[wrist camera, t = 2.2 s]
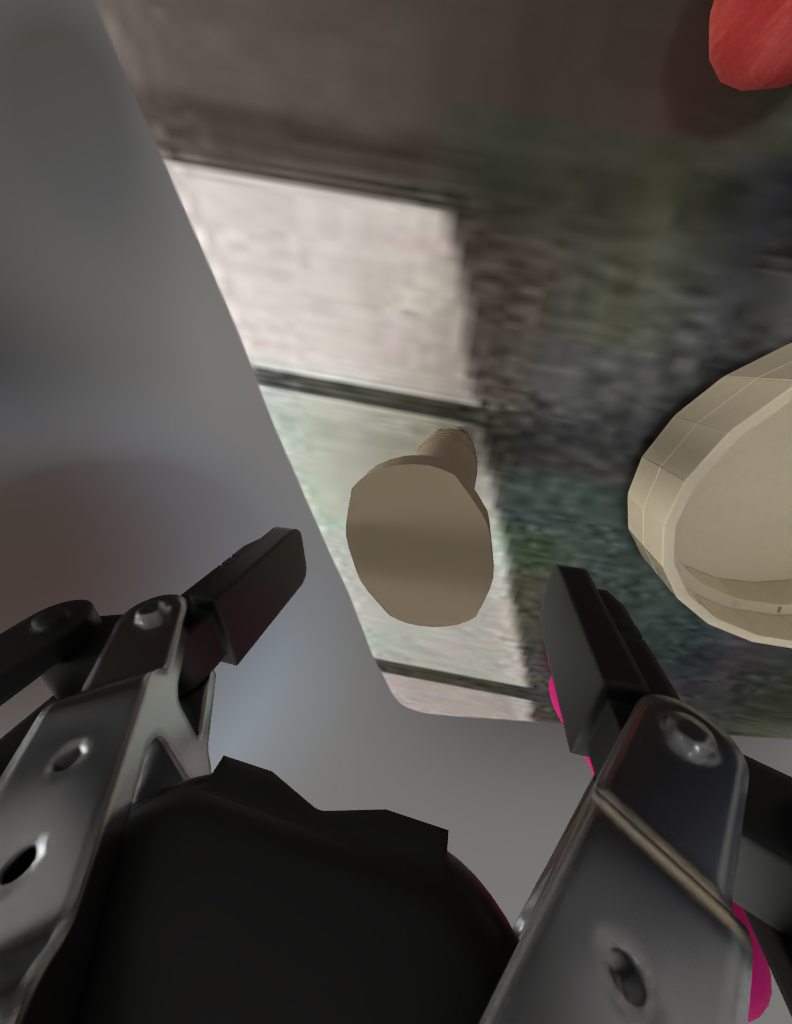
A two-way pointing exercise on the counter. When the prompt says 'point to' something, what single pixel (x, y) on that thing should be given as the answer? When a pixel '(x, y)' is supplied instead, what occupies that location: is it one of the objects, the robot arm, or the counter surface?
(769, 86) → the onion
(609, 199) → the counter surface
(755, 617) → the bowl
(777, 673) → the counter surface
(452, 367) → the counter surface
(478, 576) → the handle
